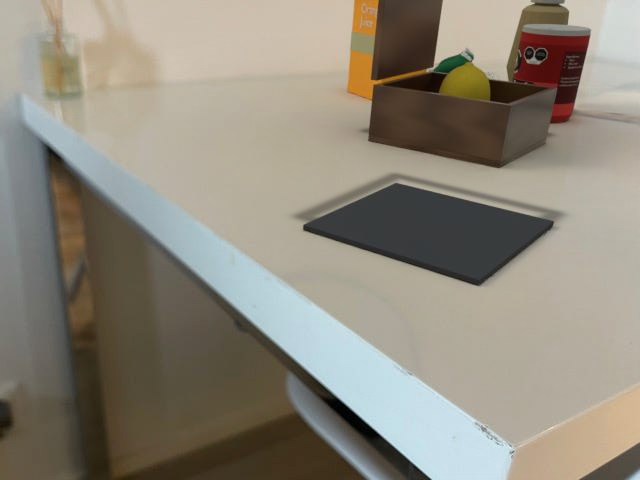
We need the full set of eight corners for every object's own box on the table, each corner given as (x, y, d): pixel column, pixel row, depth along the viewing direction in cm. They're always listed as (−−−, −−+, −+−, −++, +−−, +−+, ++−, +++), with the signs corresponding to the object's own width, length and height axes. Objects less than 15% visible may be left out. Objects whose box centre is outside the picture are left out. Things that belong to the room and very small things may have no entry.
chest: (545, 143, 75) (557, 87, 72) (499, 167, 66) (511, 105, 63) (423, 121, 83) (430, 70, 81) (367, 140, 74) (373, 84, 72)
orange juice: (378, 102, 93) (394, -58, 84) (346, 91, 100) (357, -58, 91) (424, 99, 96) (444, -57, 87) (389, 88, 103) (404, -57, 94)
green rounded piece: (444, 89, 113) (474, 65, 110) (430, 71, 113) (460, 47, 109) (450, 80, 121) (478, 58, 118) (437, 64, 120) (465, 41, 117)
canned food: (502, 108, 91) (518, 22, 86) (564, 112, 90) (584, 25, 85) (510, 120, 84) (527, 28, 79) (576, 124, 83) (598, 31, 78)
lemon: (469, 145, 71) (482, 67, 67) (423, 136, 74) (433, 61, 70) (492, 136, 74) (505, 62, 71) (447, 128, 78) (457, 56, 74)
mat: (553, 225, 52) (554, 221, 52) (478, 285, 42) (479, 279, 42) (395, 186, 60) (396, 182, 60) (302, 229, 50) (303, 224, 50)
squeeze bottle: (495, 93, 101) (518, -39, 93) (510, 85, 107) (533, -39, 99) (550, 100, 97) (579, -37, 89) (563, 92, 103) (591, -37, 95)
